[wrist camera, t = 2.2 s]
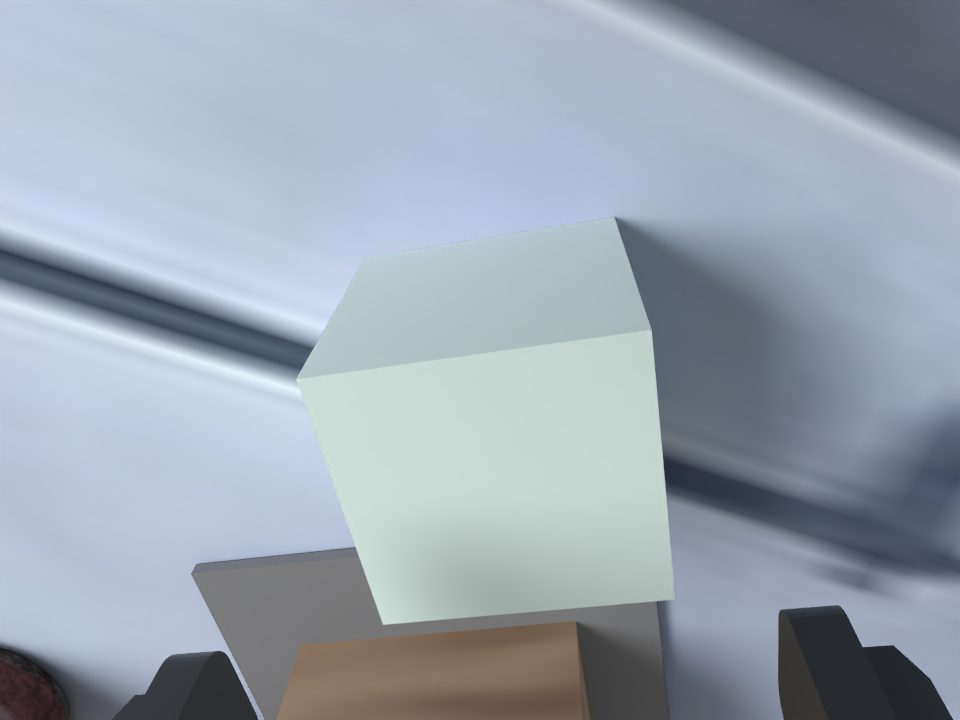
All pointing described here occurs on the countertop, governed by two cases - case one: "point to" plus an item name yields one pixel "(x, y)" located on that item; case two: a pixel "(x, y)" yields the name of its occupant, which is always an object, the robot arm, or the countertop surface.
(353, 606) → the mat
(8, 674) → the can
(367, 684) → the block bottom
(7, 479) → the countertop surface
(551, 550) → the cube
